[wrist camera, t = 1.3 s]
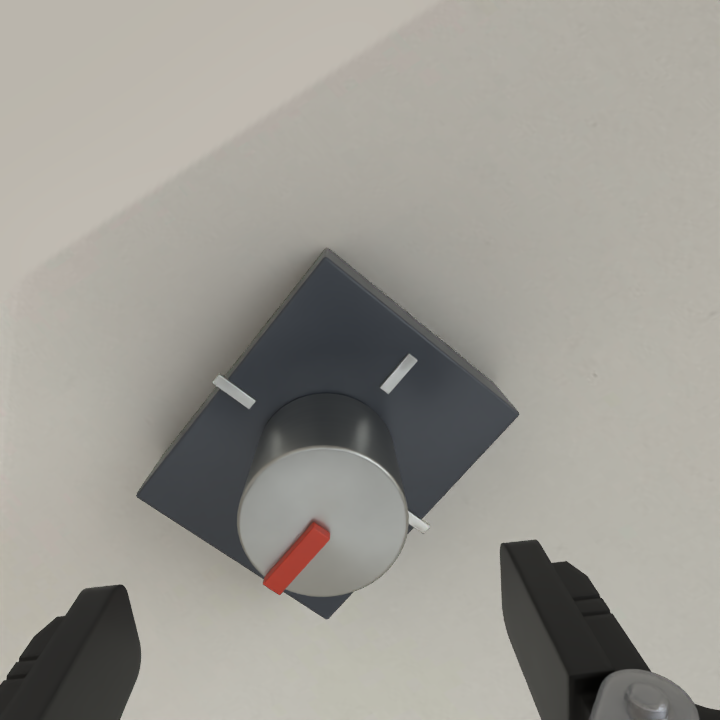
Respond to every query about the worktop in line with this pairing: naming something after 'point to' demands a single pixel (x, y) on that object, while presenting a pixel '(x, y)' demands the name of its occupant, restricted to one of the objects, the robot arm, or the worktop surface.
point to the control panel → (335, 376)
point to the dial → (323, 498)
